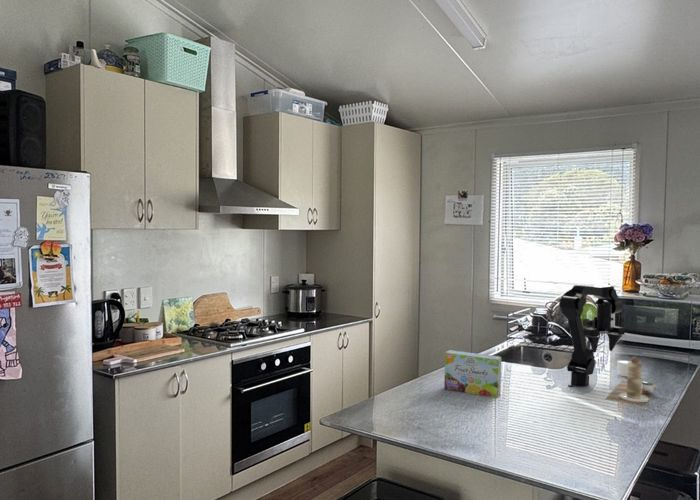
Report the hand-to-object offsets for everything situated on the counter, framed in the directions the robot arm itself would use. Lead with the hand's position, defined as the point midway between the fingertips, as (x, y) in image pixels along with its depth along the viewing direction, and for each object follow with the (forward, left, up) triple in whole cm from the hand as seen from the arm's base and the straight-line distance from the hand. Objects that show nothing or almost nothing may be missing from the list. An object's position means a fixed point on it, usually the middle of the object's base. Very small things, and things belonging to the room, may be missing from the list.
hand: (602, 351), depth 245 cm
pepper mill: (-11, -25, -11) cm, 30 cm away
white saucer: (-11, -26, -12) cm, 30 cm away
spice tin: (0, -22, -12) cm, 25 cm away
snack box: (-62, +5, -13) cm, 64 cm away
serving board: (-4, -19, -13) cm, 23 cm away
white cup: (+16, +2, -13) cm, 21 cm away
